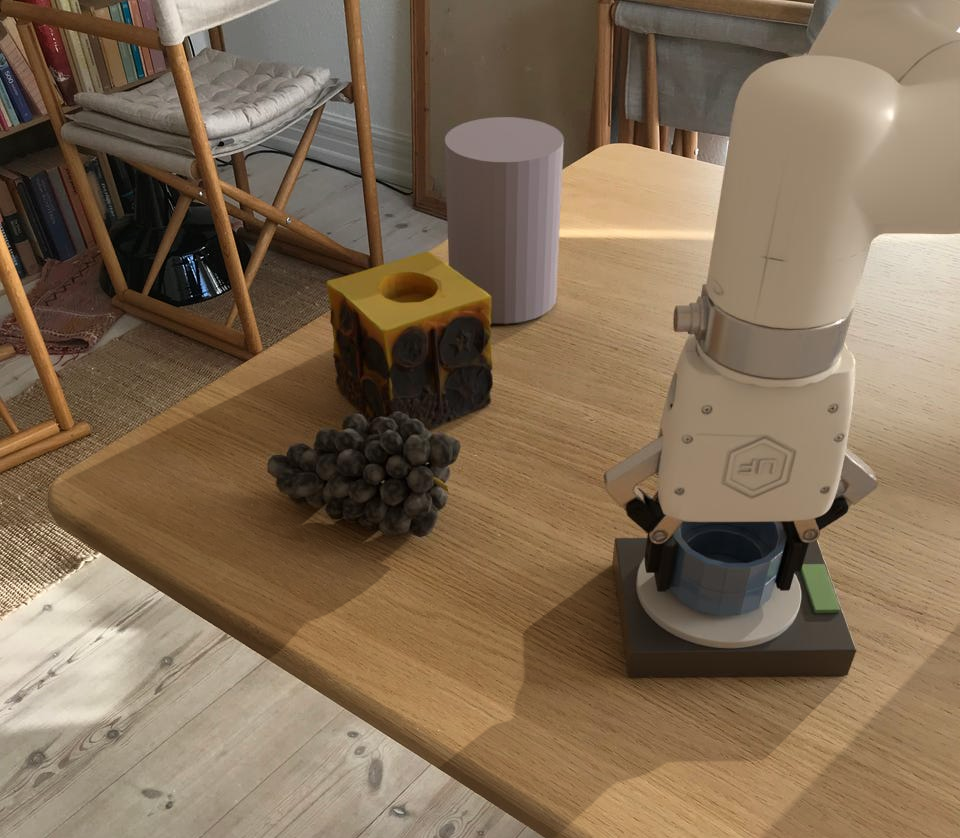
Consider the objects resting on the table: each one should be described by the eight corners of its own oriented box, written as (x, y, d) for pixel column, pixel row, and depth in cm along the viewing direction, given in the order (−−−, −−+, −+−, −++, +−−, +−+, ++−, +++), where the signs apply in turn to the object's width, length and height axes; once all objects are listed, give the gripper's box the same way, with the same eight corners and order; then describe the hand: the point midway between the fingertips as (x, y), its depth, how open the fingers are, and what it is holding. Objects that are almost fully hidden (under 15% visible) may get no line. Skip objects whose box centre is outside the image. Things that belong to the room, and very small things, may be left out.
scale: (809, 561, 74) (818, 528, 72) (847, 676, 66) (859, 643, 64) (612, 563, 74) (615, 530, 72) (628, 678, 66) (632, 645, 64)
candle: (391, 446, 84) (382, 334, 77) (333, 389, 90) (319, 280, 83) (495, 406, 88) (496, 296, 81) (433, 355, 94) (428, 247, 87)
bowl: (760, 548, 70) (773, 495, 67) (782, 620, 65) (797, 567, 62) (657, 549, 70) (665, 496, 67) (671, 622, 65) (680, 568, 62)
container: (501, 265, 106) (501, 108, 95) (578, 299, 101) (588, 137, 90) (427, 301, 101) (420, 139, 90) (505, 338, 96) (506, 172, 85)
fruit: (237, 405, 72) (440, 440, 68) (293, 380, 79) (480, 410, 75) (241, 522, 76) (434, 561, 72) (294, 489, 83) (472, 522, 79)
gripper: (614, 366, 52) (589, 618, 65) (961, 362, 52) (868, 616, 65) (601, 293, 57) (581, 540, 70) (916, 290, 57) (839, 538, 70)
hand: (719, 575), depth 67 cm, fingers closed on bowl, 7 cm apart
